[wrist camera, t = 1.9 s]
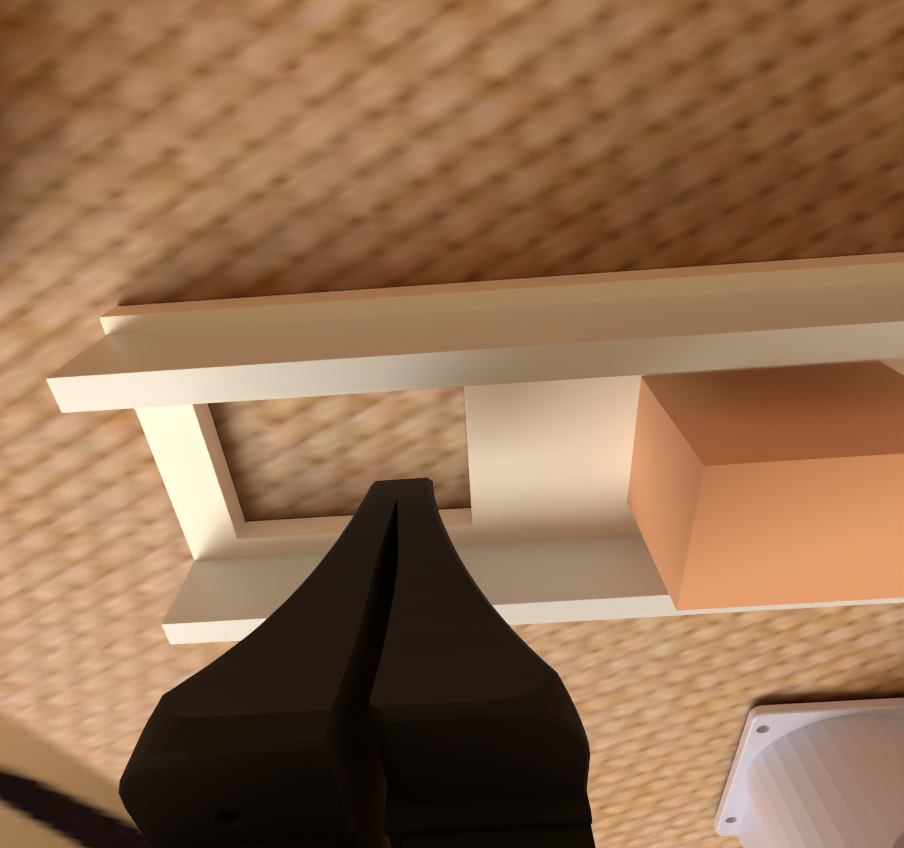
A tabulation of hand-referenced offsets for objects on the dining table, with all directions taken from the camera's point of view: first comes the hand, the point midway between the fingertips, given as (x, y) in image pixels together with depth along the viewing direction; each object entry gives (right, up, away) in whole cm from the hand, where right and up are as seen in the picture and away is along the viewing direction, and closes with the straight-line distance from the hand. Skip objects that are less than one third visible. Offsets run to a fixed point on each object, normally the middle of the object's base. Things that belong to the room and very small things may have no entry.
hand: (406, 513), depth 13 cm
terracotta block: (+9, +2, +2) cm, 9 cm away
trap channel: (+6, +2, +3) cm, 7 cm away
